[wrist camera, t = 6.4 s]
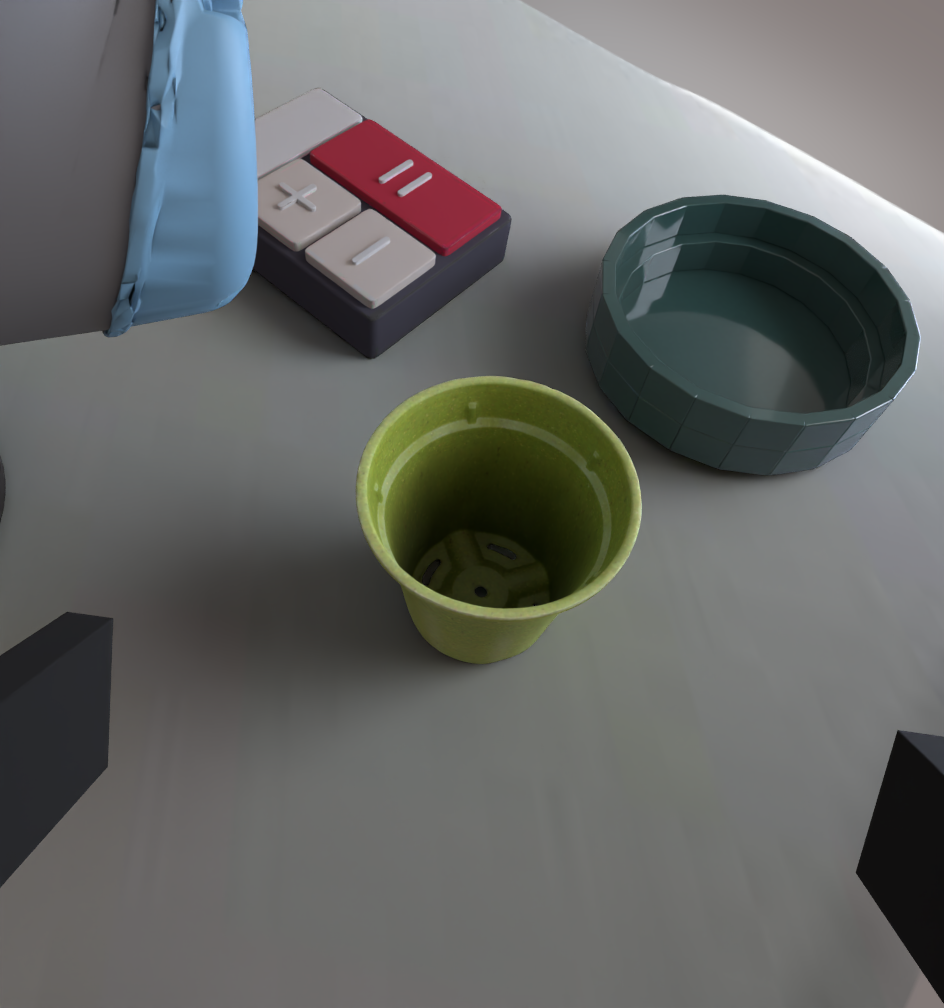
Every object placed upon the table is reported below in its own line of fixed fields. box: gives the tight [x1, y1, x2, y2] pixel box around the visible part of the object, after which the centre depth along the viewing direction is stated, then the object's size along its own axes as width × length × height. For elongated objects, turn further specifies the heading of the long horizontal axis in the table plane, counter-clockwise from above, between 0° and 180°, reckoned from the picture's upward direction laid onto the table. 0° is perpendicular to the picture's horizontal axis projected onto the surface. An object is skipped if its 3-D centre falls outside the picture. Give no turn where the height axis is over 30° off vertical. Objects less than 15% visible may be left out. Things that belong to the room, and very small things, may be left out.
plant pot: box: [356, 376, 642, 664], centre depth 28 cm, size 9×9×9 cm
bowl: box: [585, 195, 921, 475], centre depth 38 cm, size 15×15×4 cm
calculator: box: [253, 88, 511, 358], centre depth 41 cm, size 11×4×15 cm
